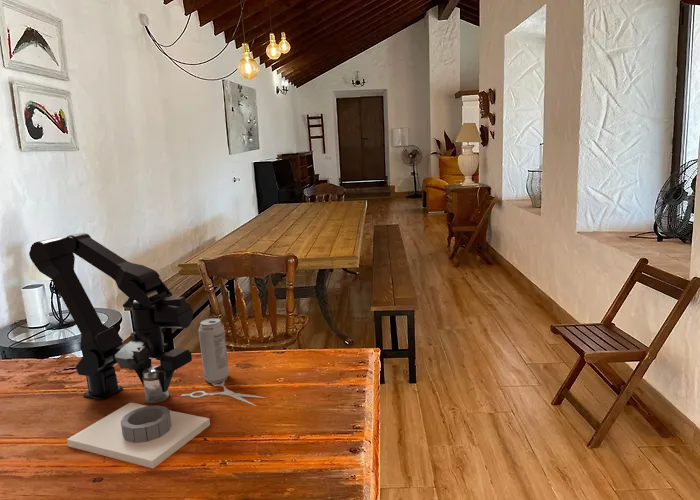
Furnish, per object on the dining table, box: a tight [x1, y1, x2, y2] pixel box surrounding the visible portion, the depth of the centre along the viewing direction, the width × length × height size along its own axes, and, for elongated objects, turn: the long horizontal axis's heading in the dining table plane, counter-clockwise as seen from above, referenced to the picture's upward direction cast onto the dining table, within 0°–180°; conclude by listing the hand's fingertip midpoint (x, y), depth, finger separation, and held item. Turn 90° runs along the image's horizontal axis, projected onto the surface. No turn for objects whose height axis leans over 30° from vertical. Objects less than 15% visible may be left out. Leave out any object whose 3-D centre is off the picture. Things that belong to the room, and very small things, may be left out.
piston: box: [142, 364, 169, 404], centre depth 123 cm, size 5×5×7 cm
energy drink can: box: [198, 317, 230, 384], centre depth 131 cm, size 6×6×15 cm
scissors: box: [180, 380, 266, 407], centre depth 124 cm, size 11×1×20 cm
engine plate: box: [66, 402, 211, 469], centre depth 107 cm, size 22×16×4 cm
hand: (156, 389), depth 124 cm, fingers closed on piston, 5 cm apart
